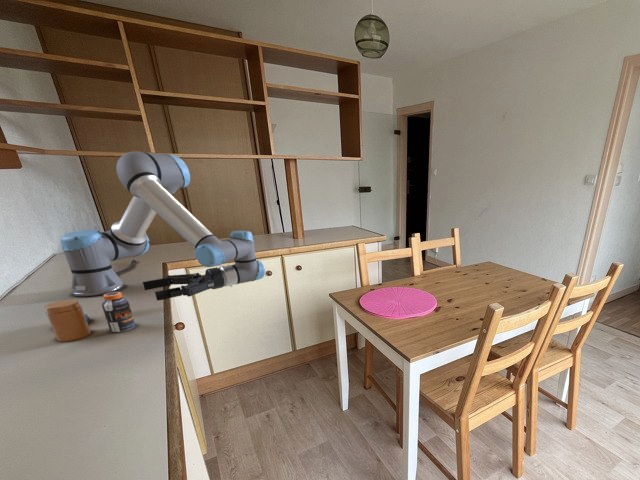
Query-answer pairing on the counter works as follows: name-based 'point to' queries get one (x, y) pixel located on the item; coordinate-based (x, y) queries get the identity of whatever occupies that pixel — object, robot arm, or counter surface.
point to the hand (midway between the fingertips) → (149, 291)
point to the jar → (67, 320)
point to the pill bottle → (117, 312)
